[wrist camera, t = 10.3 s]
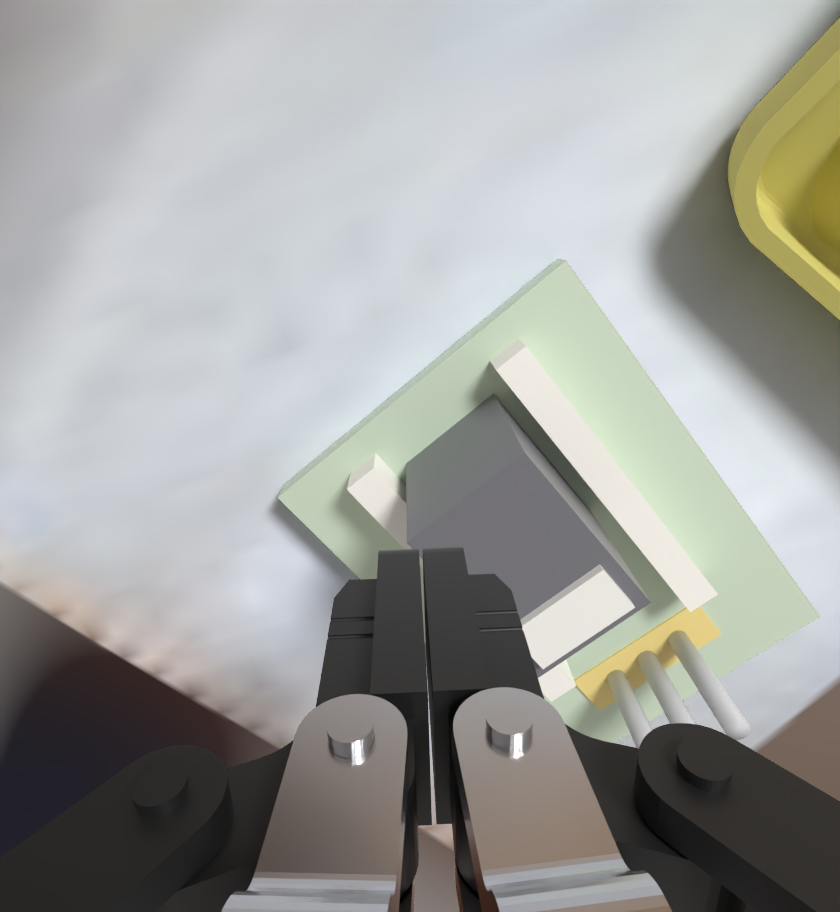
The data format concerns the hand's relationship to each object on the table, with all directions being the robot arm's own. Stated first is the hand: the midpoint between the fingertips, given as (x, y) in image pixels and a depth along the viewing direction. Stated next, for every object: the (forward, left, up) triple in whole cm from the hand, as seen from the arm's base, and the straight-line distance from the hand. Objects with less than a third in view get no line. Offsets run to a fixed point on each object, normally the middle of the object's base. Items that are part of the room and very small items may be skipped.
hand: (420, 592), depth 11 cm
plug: (+4, +1, -11) cm, 12 cm away
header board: (+8, +1, -13) cm, 15 cm away
